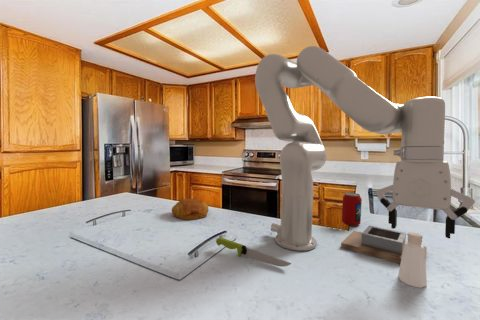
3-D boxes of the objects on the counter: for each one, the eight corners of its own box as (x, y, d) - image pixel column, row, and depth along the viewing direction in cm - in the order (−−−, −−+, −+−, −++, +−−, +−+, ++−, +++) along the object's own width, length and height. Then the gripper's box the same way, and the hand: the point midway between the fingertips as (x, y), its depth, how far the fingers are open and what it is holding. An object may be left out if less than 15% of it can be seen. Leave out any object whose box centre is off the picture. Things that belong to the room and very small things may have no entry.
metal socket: (361, 245, 71) (361, 233, 71) (368, 235, 78) (369, 225, 78) (401, 255, 65) (402, 242, 64) (405, 244, 72) (405, 232, 72)
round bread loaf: (172, 216, 107) (170, 199, 107) (207, 210, 112) (204, 193, 111) (173, 226, 93) (170, 206, 93) (212, 218, 98) (210, 199, 97)
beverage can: (362, 227, 91) (364, 196, 90) (343, 226, 92) (345, 195, 92) (357, 222, 98) (359, 192, 97) (340, 220, 99) (341, 191, 98)
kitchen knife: (291, 273, 59) (292, 261, 59) (289, 275, 58) (290, 263, 58) (217, 246, 70) (218, 236, 70) (215, 247, 69) (216, 237, 69)
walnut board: (341, 247, 73) (341, 242, 72) (353, 234, 83) (353, 230, 83) (424, 270, 60) (424, 264, 60) (426, 251, 71) (426, 246, 71)
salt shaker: (433, 288, 52) (436, 238, 52) (407, 287, 52) (411, 238, 52) (415, 275, 58) (418, 230, 57) (392, 274, 58) (395, 229, 57)
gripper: (373, 155, 56) (372, 228, 56) (478, 156, 45) (475, 246, 45) (379, 154, 61) (378, 220, 62) (473, 155, 50) (470, 235, 51)
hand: (419, 231), depth 54 cm, fingers open, 9 cm apart
